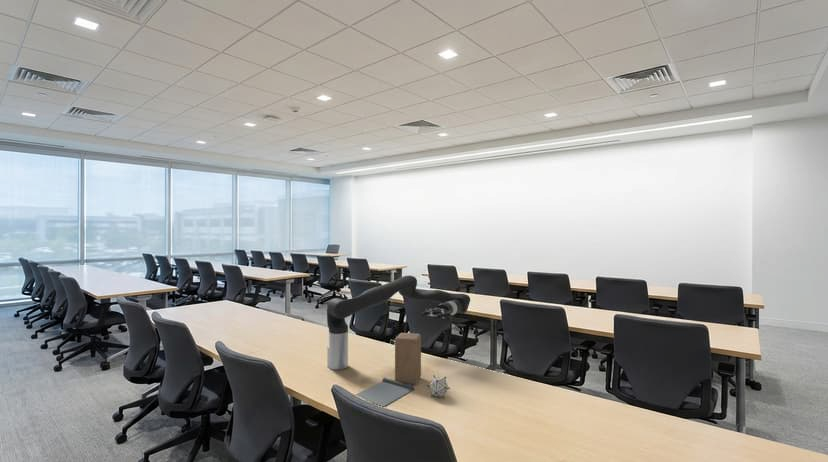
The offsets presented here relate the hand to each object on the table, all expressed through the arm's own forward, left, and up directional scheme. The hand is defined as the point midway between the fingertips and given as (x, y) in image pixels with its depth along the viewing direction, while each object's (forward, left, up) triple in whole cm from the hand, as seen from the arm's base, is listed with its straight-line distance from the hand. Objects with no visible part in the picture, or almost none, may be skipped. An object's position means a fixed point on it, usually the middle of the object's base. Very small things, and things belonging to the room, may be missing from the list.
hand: (430, 316), depth 184 cm
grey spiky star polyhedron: (+19, -23, -26) cm, 40 cm away
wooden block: (-1, -17, -26) cm, 31 cm away
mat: (-1, -33, -26) cm, 42 cm away
